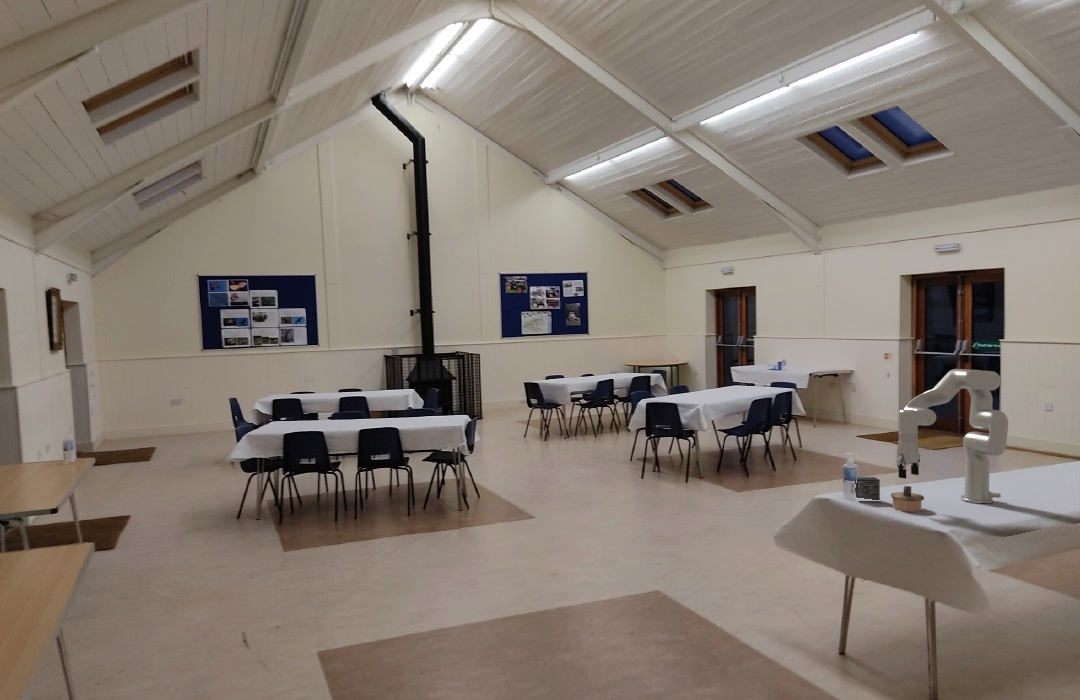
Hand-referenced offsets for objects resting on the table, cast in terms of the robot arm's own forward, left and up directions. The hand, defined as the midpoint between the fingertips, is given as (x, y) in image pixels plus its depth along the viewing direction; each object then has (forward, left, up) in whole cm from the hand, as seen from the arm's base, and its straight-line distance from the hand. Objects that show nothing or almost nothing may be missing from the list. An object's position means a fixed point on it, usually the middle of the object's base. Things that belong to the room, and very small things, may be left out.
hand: (908, 476), depth 323 cm
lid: (+1, 0, -9) cm, 9 cm away
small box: (+14, -14, -15) cm, 24 cm away
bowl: (+1, 0, -14) cm, 14 cm away
